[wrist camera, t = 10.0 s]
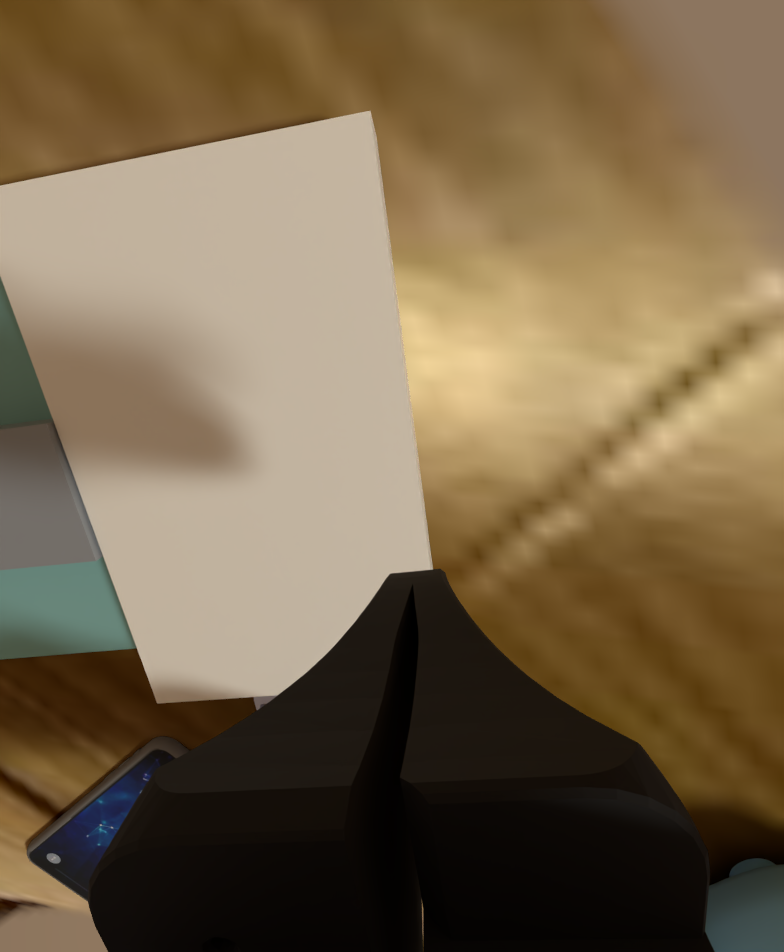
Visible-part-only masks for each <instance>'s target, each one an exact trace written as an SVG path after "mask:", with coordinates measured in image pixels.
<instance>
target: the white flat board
mask: <svg viewBox="0 0 784 952" xmlns="http://www.w3.org/2000/svg"><path fill="white" fill-rule="evenodd" d="M0 277H1V279H2V282H3V285H4V288H5V290H6V293H7V296H8V298H9V301H10V304H11V307H12V309H13V312H14V315H15V318H16V320H17V323H18V326H19V328H20V331H21V334H22V337H23V339H24V342H25V345H26V347H27V350H28V353H29V356H30V358H31V361H32V364H33V367H34V369H35V372H36V375H37V377H38V380H39V383H40V386H41V388H42V391H43V394H44V397H45V399H46V402H47V405H48V407H49V410H50V413H51V416H52V418H53V421H54V424H55V426H56V429H57V432H58V435H59V437H60V440H61V443H62V446H63V448H64V451H65V454H66V456H67V459H68V462H69V465H70V467H71V470H72V473H73V476H74V478H75V481H76V484H77V486H78V489H79V492H80V495H81V497H82V500H83V503H84V505H85V508H86V511H87V514H88V516H89V519H90V522H91V525H92V527H93V530H94V533H95V535H96V538H97V541H98V544H99V546H100V549H101V552H102V555H103V557H104V560H105V563H106V565H107V568H108V571H109V574H110V576H111V579H112V582H113V585H114V587H115V590H116V593H117V595H118V598H119V601H120V604H121V606H122V609H123V612H124V614H125V617H126V620H127V623H128V625H129V628H130V631H131V634H132V636H133V639H134V642H135V644H136V647H137V650H138V653H139V655H140V658H141V661H142V664H143V666H144V669H145V672H146V674H147V677H148V680H149V683H150V685H151V688H152V691H153V693H154V696H155V699H156V702H157V704H158V703H173V702H187V701H202V700H217V699H231V698H246V697H260V696H275V695H279V694H280V693H281V692H283V691H284V690H285V689H286V688H288V687H289V686H290V685H292V684H293V683H294V682H295V681H297V680H298V679H299V678H300V677H302V676H303V675H304V674H305V673H306V672H308V671H309V670H310V669H311V668H312V667H313V666H314V665H315V664H316V663H317V662H318V661H319V660H321V659H322V658H323V657H324V656H325V655H326V654H327V653H328V652H329V651H330V650H331V649H332V648H333V647H334V646H335V644H336V643H337V642H338V641H339V640H340V639H341V638H342V636H343V635H344V634H345V633H346V632H347V631H348V629H349V628H350V627H351V626H352V625H353V624H354V622H355V621H356V620H357V618H358V617H359V616H360V614H361V613H362V612H363V611H364V609H365V608H366V607H367V605H368V604H369V603H370V601H371V600H372V598H373V597H374V595H375V594H376V593H377V591H378V590H379V588H380V587H381V585H382V584H383V582H384V581H385V579H386V578H387V577H388V576H389V574H391V573H401V572H412V571H422V570H433V567H432V559H431V551H430V544H429V536H428V528H427V521H426V513H425V505H424V498H423V490H422V482H421V475H420V467H419V459H418V452H417V444H416V436H415V429H414V421H413V413H412V406H411V398H410V390H409V383H408V375H407V367H406V360H405V352H404V344H403V337H402V329H401V321H400V314H399V306H398V298H397V291H396V283H395V275H394V268H393V260H392V252H391V245H390V237H389V229H388V222H387V214H386V206H385V199H384V191H383V183H382V176H381V168H380V160H379V153H378V145H377V137H376V133H375V129H374V124H373V120H372V116H371V112H370V111H367V112H362V113H357V114H352V115H347V116H342V117H337V118H332V119H327V120H322V121H317V122H312V123H307V124H302V125H298V126H293V127H288V128H283V129H278V130H273V131H268V132H263V133H258V134H253V135H248V136H243V137H238V138H233V139H228V140H223V141H218V142H213V143H209V144H204V145H199V146H194V147H189V148H184V149H179V150H174V151H169V152H164V153H159V154H154V155H149V156H144V157H139V158H134V159H129V160H125V161H120V162H115V163H110V164H105V165H100V166H95V167H90V168H85V169H80V170H75V171H70V172H65V173H60V174H55V175H50V176H45V177H41V178H36V179H31V180H26V181H21V182H16V183H11V184H6V185H1V186H0Z"/></svg>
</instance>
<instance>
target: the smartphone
mask: <svg viewBox="0 0 784 952" xmlns="http://www.w3.org/2000/svg"><path fill="white" fill-rule="evenodd" d="M189 751H190V750H188V749H187V748H186V747H184V746H183V745H182V744H181V743H179V742H178V741H176V740H175V739H173V738H170V737H164V736H161V737H156V738H154V739H152V740H151V741H150V742H149V743H147V744H146V745H145V746H144V747H143V748H140V749H139V750H137V751H136V752H135V753H134V754H133V756H132V757H131V758H130V757H129V758H128V759H127V760H125V761H124V762H123V763H122V764H121V765H119V767H118V769H115V770H114V771H112V772H111V773H110V774H109V775H108V776H106V777H105V779H104V780H103V781H102V782H101V783H100V784H99V785H97V786H96V787H95V788H94V789H93V790H92V791H90V792H89V793H88V794H87V795H86V796H84V797H83V798H82V799H81V800H80V801H78V802H77V803H76V804H75V805H74V806H73V807H71V808H70V809H69V810H68V811H67V812H65V813H64V814H63V815H62V816H61V817H60V818H58V819H57V820H56V821H55V822H54V823H52V824H51V825H50V826H49V827H48V828H46V829H45V830H44V831H43V832H42V833H41V834H39V835H38V836H37V837H36V838H35V839H33V840H32V841H31V843H30V844H29V846H28V848H27V856H28V858H29V860H30V861H31V862H32V863H33V864H34V865H36V866H37V867H39V868H40V869H42V870H43V871H45V872H46V873H47V874H49V875H50V876H52V877H53V878H55V879H56V880H57V881H59V882H60V883H62V884H63V885H65V886H66V887H68V888H69V889H70V890H72V891H73V892H75V893H76V894H78V895H79V896H80V897H82V898H83V899H85V900H86V901H88V888H89V880H90V878H91V876H92V874H93V872H94V870H95V868H96V866H97V864H98V863H99V861H100V859H101V858H102V856H103V854H104V853H105V851H106V849H107V848H108V846H109V844H110V843H111V841H112V839H113V838H114V836H115V834H116V833H117V831H118V829H119V828H120V826H121V824H122V823H123V821H124V819H125V818H126V816H127V814H128V813H129V811H130V809H131V808H132V806H133V804H134V803H135V801H136V799H137V798H138V796H139V795H140V793H141V791H142V790H143V788H144V787H145V785H146V784H147V782H148V781H149V779H150V778H151V776H152V775H153V773H154V772H155V770H156V769H157V768H159V767H161V766H163V765H165V764H167V763H169V762H171V761H172V760H174V759H176V758H178V757H180V756H182V755H183V754H185V753H187V752H189Z"/></svg>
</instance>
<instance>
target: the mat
mask: <svg viewBox="0 0 784 952" xmlns="http://www.w3.org/2000/svg"><path fill="white" fill-rule="evenodd" d="M45 419H53V418H52V416H51V413H50V410H49V407H48V405H47V402H46V399H45V397H44V394H43V391H42V388H41V386H40V383H39V380H38V377H37V375H36V372H35V369H34V367H33V364H32V361H31V358H30V356H29V353H28V350H27V347H26V345H25V342H24V339H23V337H22V334H21V331H20V328H19V326H18V323H17V320H16V318H15V315H14V312H13V309H12V307H11V304H10V301H9V298H8V296H7V293H6V290H5V288H4V285H3V282H2V279H1V277H0V425H7V424H15V423H22V422H30V421H37V420H45ZM134 648H137V647H136V644H135V642H134V639H133V636H132V634H131V631H130V628H129V625H128V623H127V620H126V617H125V614H124V612H123V609H122V606H121V604H120V601H119V598H118V595H117V593H116V590H115V587H114V585H113V582H112V579H111V576H110V574H109V571H108V568H107V565H106V563H105V560H104V557H101V558H100V559H98V560H97V561H92V562H81V563H71V564H60V565H50V566H40V567H29V568H19V569H8V570H0V660H1V659H13V658H25V657H37V656H49V655H61V654H73V653H86V652H98V651H110V650H122V649H134Z"/></svg>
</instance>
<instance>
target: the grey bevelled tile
mask: <svg viewBox="0 0 784 952" xmlns="http://www.w3.org/2000/svg"><path fill="white" fill-rule="evenodd" d="M101 557H103V555H102V552H101V549H100V546H99V544H98V541H97V538H96V535H95V533H94V530H93V527H92V525H91V522H90V519H89V516H88V514H87V511H86V508H85V505H84V503H83V500H82V497H81V495H80V492H79V489H78V486H77V484H76V481H75V478H74V476H73V473H72V470H71V467H70V465H69V462H68V459H67V456H66V454H65V451H64V448H63V446H62V443H61V440H60V437H59V435H58V432H57V429H56V426H55V424H54V421H53V419H45V420H37V421H30V422H22V423H15V424H7V425H0V570H8V569H19V568H29V567H40V566H50V565H60V564H71V563H81V562H92V561H97V560H98V559H100V558H101Z"/></svg>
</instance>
